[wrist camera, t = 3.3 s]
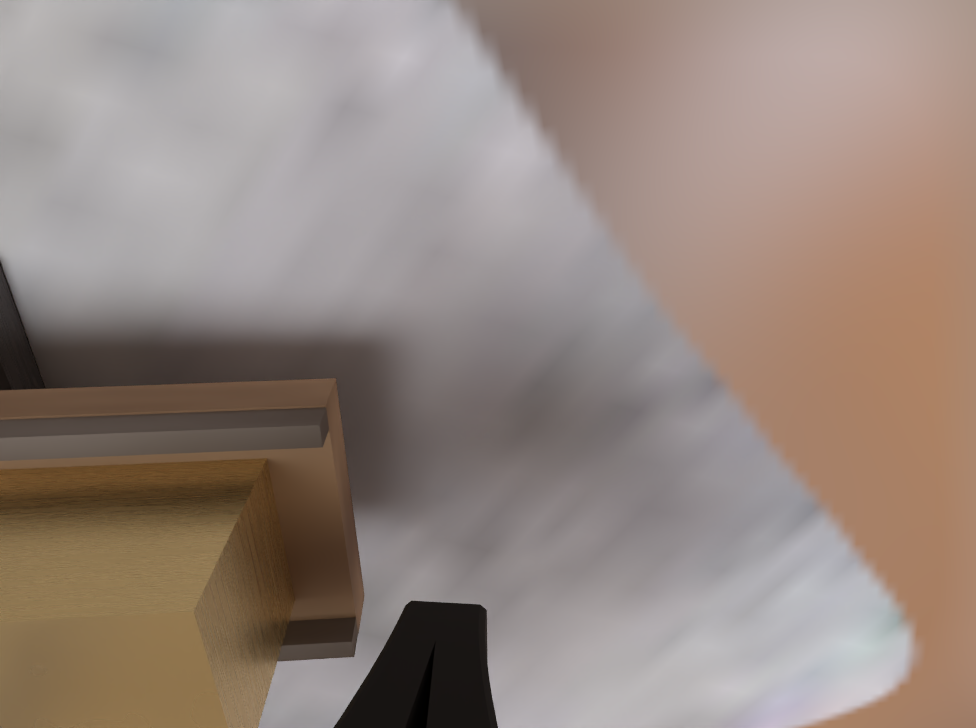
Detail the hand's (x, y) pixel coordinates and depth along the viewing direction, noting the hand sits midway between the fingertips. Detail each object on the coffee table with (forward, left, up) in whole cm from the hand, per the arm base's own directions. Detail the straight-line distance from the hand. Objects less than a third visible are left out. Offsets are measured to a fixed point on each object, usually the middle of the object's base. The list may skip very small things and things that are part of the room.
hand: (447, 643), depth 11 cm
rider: (0, +7, -2) cm, 7 cm away
